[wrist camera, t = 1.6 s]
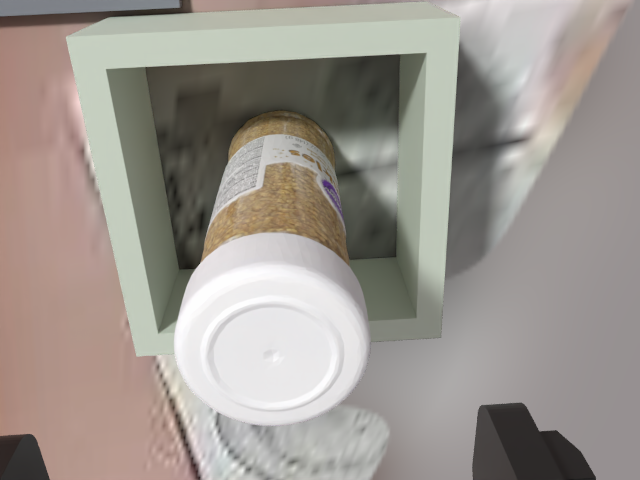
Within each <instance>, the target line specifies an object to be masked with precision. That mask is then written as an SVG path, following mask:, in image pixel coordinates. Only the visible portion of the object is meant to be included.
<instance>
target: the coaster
mask: <svg viewBox="0 0 640 480" xmlns="http://www.w3.org/2000/svg"><path fill="white" fill-rule="evenodd" d="M180 7H182V2H181V0H0V16H17V15H38V14H59V13H80V12H100V11H121V10H142V9H163V8H180Z"/></svg>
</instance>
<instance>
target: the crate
mask: <svg viewBox="0 0 640 480" xmlns="http://www.w3.org/2000/svg"><path fill="white" fill-rule="evenodd" d="M460 19H461V17H459V16H456V15H454V14H452V13H450V12H448V11H446V10H444V9H442V8H440V7H438V6H436V5H433V4H431V3H429V2H406V3H386V4H365V5H344V6H324V7H303V8H282V9H262V10H241V11H220V12H200V13H179V14H159V15H138V16H117V17H108V18H106V19H104V20H102V21H99V22H97V23H95V24H93V25H91V26H88V27H86V28H84V29H82V30H80V31H77V32H75V33H73V34H71V35H69V36H67V37H66V40H67V45H68V49H69V54H70V58H71V63H72V67H73V72H74V76H75V81H76V85H77V90H78V94H79V99H80V104H81V108H82V113H83V117H84V122H85V126H86V131H87V135H88V140H89V144H90V149H91V153H92V158H93V162H94V167H95V171H96V176H97V180H98V185H99V189H100V194H101V198H102V203H103V207H104V212H105V216H106V221H107V225H108V230H109V234H110V239H111V243H112V248H113V252H114V257H115V261H116V266H117V270H118V275H119V279H120V284H121V288H122V293H123V297H124V302H125V306H126V311H127V316H128V320H129V325H130V329H131V334H132V338H133V343H134V347H135V352H136V356H153V355H169V354H175V353H174V334H175V327H176V323H177V319H178V316H179V312H180V308H181V304H182V300H183V297H184V293H185V290H186V287H187V284H188V282H189V280H190V278H191V275H192V274H193V272H194V271H195V269H183V270H179V266H178V260H177V254H176V248H175V242H174V236H173V230H172V224H171V219H170V213H169V207H168V201H167V195H166V189H165V183H164V177H163V171H162V165H161V159H160V153H159V147H158V141H157V135H156V129H155V124H154V118H153V112H152V106H151V100H150V94H149V88H148V82H147V76H146V70H145V67H154V66H174V65H194V64H214V63H234V62H254V61H273V60H293V59H313V58H333V57H353V56H373V55H392V54H400V81H399V134H398V188H397V241H396V257H389V258H372V259H355V260H349V264H350V268H351V270H352V271H353V273H354V274H355V276H356V278H357V280H358V282H359V284H360V286H361V289H362V292H363V295H364V300H365V304H366V309H367V315H368V321H369V328H370V335H371V342H381V341H396V340H413V339H429V338H441V329H442V312H443V297H444V280H445V264H446V247H447V231H448V215H449V198H450V182H451V166H452V149H453V133H454V117H455V100H456V84H457V68H458V51H459V35H460Z"/></svg>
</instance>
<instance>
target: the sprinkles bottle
mask: <svg viewBox="0 0 640 480" xmlns="http://www.w3.org/2000/svg"><path fill="white" fill-rule="evenodd" d="M345 240H346V230H345V224H344V219H343V213H342V207H341V201H340V194H339V187H338V181H337V177H336V174H335V156H334V150H333V146H332V144H331V142H330V140H329V138H328V136H327V134H326V133H325V132H324V131H323V130H322V129H321V128H320V127H319V126H318V125H317V124H316V123H315V122H314V121H312V120H310V119H308V118H307V117H305V116H303V115H300V114H298V113H296V112H289V111H275V112H267V113H264V114H261V115H258V116H256V117H254V118H252V119H250V120H248V121H247V122H246V123H245V124H244V126H242V127H241V128H240V129H239V130H238V132H237V133H236V134H235V136H234V138H233V139H232V142H231V145H230V147H229V151H228V164H227V166H226V168H225V171H224V174H223V177H222V180H221V184H220V187H219V191H218V194H217V198H216V201H215V205H214V209H213V213H212V216H211V220H210V223H209V227H208V230H207V234H206V238H205V242H204V251H203V255H202V260H201V263H200V264H199V265H198V267H197V268H196V269H195V271H194V272H193V274H192V275H191V278H190V280H189V282H188V284H187V287H186V290H185V293H184V297H183V300H182V304H181V308H180V312H179V316H178V319H177V323H176V327H175V334H174V353H175V359H176V363H177V366H178V368H179V371H180V373H181V375H182V377H183V379H184V381H185V382H186V384H187V385H188V387H189V388H190V390H191V391H192V392H193V393H194V394H195V395H196V396H197V397H198V398H199V399H200V400H201V401H202V402H204V403H205V404H206V405H207V406H209V407H210V408H212V409H214V410H215V411H217V412H218V413H220V414H222V415H225V416H227V417H229V418H231V419H234V420H237V421H241V422H244V423H248V424H254V425H262V426H283V425H291V424H296V423H301V422H305V421H308V420H311V419H313V418H316V417H319V416H321V415H323V414H325V413H326V412H328V411H330V410H332V409H333V408H335V407H336V406H337V405H339V404H340V403H341V402H342V401H344V400H345V399H346V398H347V397H348V396H349V395H350V394H351V392H353V390H354V389H355V388H356V386H357V385H358V383H359V382H360V380H361V378H362V376H363V375H364V373H365V371H366V367H367V364H368V360H369V356H370V349H371V335H370V328H369V321H368V315H367V309H366V304H365V300H364V295H363V292H362V289H361V286H360V284H359V282H358V280H357V278H356V276H355V274H354V273H353V271H352V270H351V268H350V264H349V256H348V252H347V247H346V241H345Z"/></svg>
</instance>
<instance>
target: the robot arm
mask: <svg viewBox="0 0 640 480" xmlns="http://www.w3.org/2000/svg"><path fill="white" fill-rule="evenodd" d="M472 468H473V480H596V477H595V475H594V474H593V472H592V470H591V468H590V467H589V465H588V463H587V462H586V460H585V458H584V457H583V455H582V453H581V452H580V451H579V450H578V449H577V448H576V447H575V446H574V445H573V444H571V443H570V442H569V441H568V440H567V439H565V437H563V436H562V435H561V434H560V433H559V432H558V431H556V430H555V431H541V432H539V430H538V428H537V426H536V424H535V422H534V420H533V419H532V417H531V415H530V413H529V411H528V409H527V407H526V406H525V405H524V404H523V403H509V404H495V405H481V406H480V408H479V411H478V417H477V427H476V437H475V446H474V456H473V467H472ZM0 480H50V479H49V476H48V473H47V470H46V467H45V464H44V461H43V458H42V455H41V452H40V449H39V446H38V443H37V440H36V438H35V437H34V436H33V435H31V434H23V435H8V436H0Z"/></svg>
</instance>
